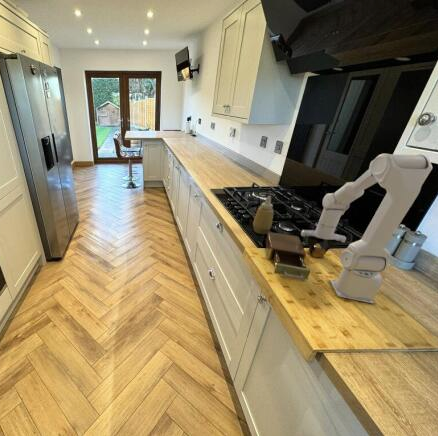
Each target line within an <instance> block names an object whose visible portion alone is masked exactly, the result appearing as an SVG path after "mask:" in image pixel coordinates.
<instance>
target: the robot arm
mask: <svg viewBox="0 0 438 436" xmlns="http://www.w3.org/2000/svg"><path fill="white" fill-rule="evenodd" d="M431 171H433V165H432V163H431V161H430V158H429V156H427V155H425V154H395V153H394V154H391V153H381V154H378V155H377V156H376V157H375V158H374V159H373V160H371V161H370V163H369V167H368V169H367V170H366V171H365V172H364V173H363V174H361V176H359V177H358V178H357V179H356V180H355V181H349V182H348V181H347V182H345V184H344V185H343V186H341V187H340V188H339V189H337V190H336V191H335V192H331V193H329V192H328V193H326V194H325V195H324V197H323V198H322V207H323V209H322V212H321V214H320V217H319V220H318V223H317V225H316V228H315V229H302V230H301V232H300V235H301V237H307V240H308V253H309V254H310V255H312V253H313V250H314V247H315V245H316V244H318V239H322V240H323V244H322V245H321V247H322V249H325V250H326V251H325V253H324V255H323V257H324V256H325V254H326V253H327V252H328V251H330V249H332V248H333V247H335V246H336V245H337V242H341V243H346V240H347V237H346V236H345V235H341V234H337V233H335V232H336V229H337V226H338V224H339V221H340V219H341V217H342V216H343V215H344V214H345V212H346V211H347V210H349V208H350V206H351V205H350V204H351V203H352V202H354V201H355V200H357V199H359V198H360V197H362V196H363V195H364V194H365V190H366V189H368V188H370V187H372V186H374V185H375V184H379V186H380V187H381V188H383V189H384V190H385V191H386V193H385V196H384V197H383V199H382V201H381V203H380V204H379V206H378V208H377V210H376V211H375V214H374V216H373V217H372V219H371V221H370V222H369V224H368V226H367V228H366V229H365V231H364V233H363V235H362V236H361V238H360V239H359V240H355V241H354V242H351V243H349V244H348V246H347V247H346V248H345V249H344V250H342V252H341V253H340V257H339V259H340V264H341V265H342V269H341V271H340V273H339V275H338V277H337V279H336V280H334V279H330V280H329V282H330V284H331V286H332V288H333V289H334V292H335V293H336V295H337V296H338V297H340V298H345V299H349V300H353V301H359V302H364V303H368V304H374V303H375V302H374V299H375V298H376V297H377V294H378V292H379V291H380V290H381V287H382V284H383V278H382V275H381V274H380V273H383V272H385V271H386V270H387V269H388V267H389V261H390V258H391V257H392V254H391V252H390V250H389V249H388V248H386V246H387V245H388V243H389V242H390V240H391V238H392V237H393V235H394V234H395V232H396V231H397V229H398V227H399V226H400V224H401V223H402V221H403V219H404V218H405V216H406V215H407V213H408V212H409V210H410V208H411V207H412V206H413V204H414V203H415V200H416V199H417V198H418V196H419V194H420V193H421V189H422V186H423V184H424V183H425V181H426V179H427V178H428V176H429V174H430V173H431Z"/></svg>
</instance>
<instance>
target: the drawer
mask: <svg viewBox="0 0 438 436" xmlns="http://www.w3.org/2000/svg"><path fill="white" fill-rule="evenodd" d="M273 260H274V261H273V263H274V269H273V273H274V274H276V275H280V276H283V278H284V279H285V278H286V279H290V280H295V281H300V282H306V281H307V280H308V279H309V276H310V274H311V269H310V268H307V266H306V263H305V260H304V261H303V258H302V256H301V255H299V254H293V253H287V252H281V251H276V250H274V252H273Z"/></svg>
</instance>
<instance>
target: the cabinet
mask: <svg viewBox="0 0 438 436" xmlns="http://www.w3.org/2000/svg"><path fill="white" fill-rule="evenodd" d="M264 245H265V249H266V253H267V258H268V261H271V262H272V261H273V262H274V260H273V252H274V250H276V251H281V252H287V253H293V254H299V255H301V256H302V258H303V261H304V262H305V259H306V256H307V252H306V250H305V248H304V246H303V243H302V241H301V239H300V237H299V236H297V235H291V234H285V233H279V232H272V231H268V232H267V234H266V238H265V242H264Z"/></svg>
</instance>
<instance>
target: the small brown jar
mask: <svg viewBox="0 0 438 436" xmlns="http://www.w3.org/2000/svg"><path fill="white" fill-rule="evenodd" d="M325 251H326V250H325V249H322V245H321V244H320V243H317V244H316V245H315V247H314V250H313V252H312V254H311V256H312V257H315V258H321V259H323V257H324V256H325V254H326V253H325ZM324 253H325V254H324ZM323 255H324V256H323Z"/></svg>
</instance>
